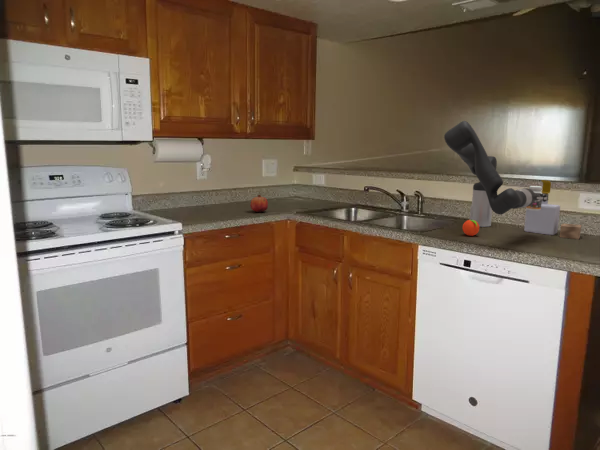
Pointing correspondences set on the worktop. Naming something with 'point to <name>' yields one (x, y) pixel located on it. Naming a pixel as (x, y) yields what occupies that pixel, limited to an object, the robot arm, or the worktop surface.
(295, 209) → the worktop surface
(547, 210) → the soap bottle
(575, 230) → the walnut block
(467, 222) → the clementine
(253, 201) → the fruit
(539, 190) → the pill bottle
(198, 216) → the worktop surface
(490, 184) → the robot arm
